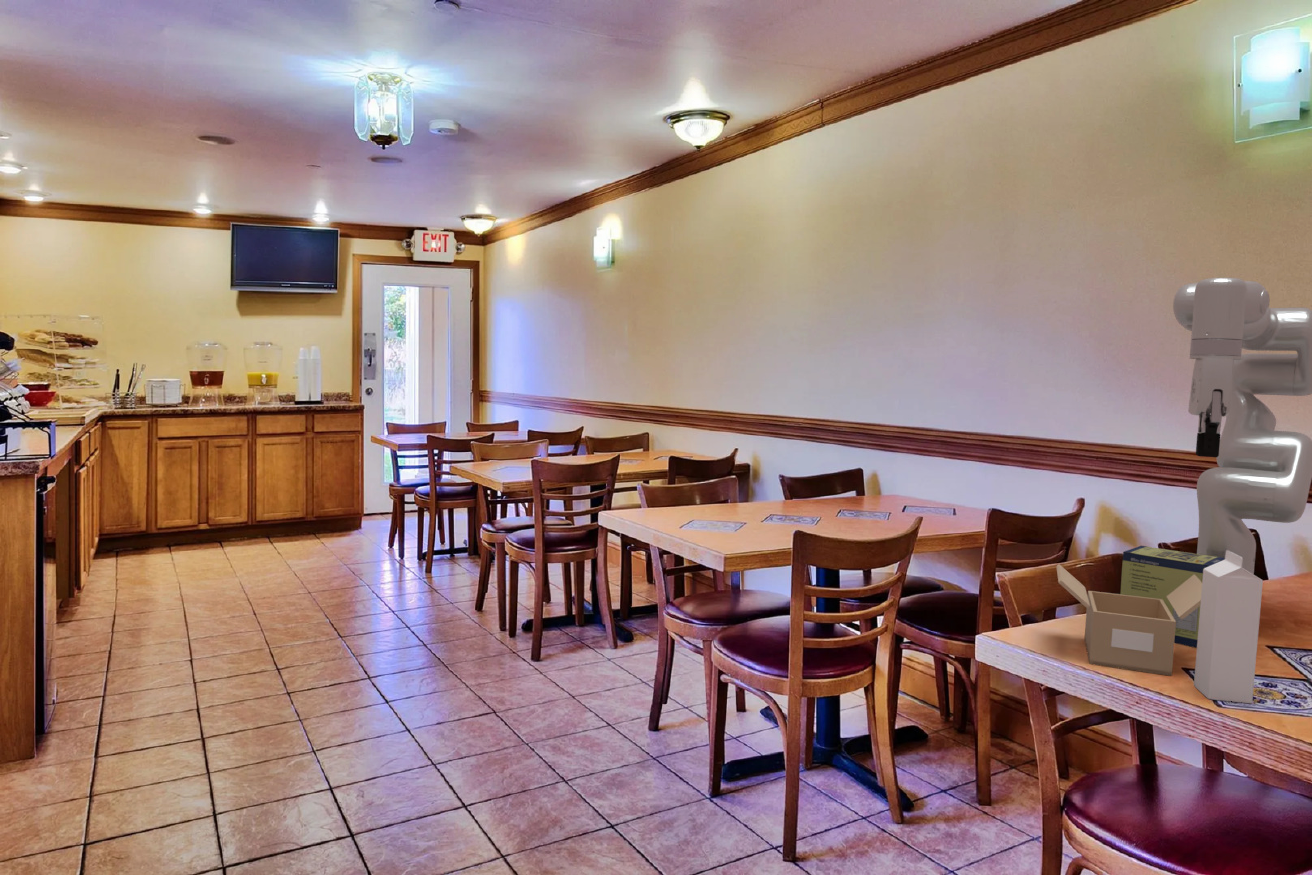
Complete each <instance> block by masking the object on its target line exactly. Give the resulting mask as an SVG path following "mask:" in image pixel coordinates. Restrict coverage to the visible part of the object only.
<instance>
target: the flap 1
mask: <svg viewBox="0 0 1312 875" xmlns="http://www.w3.org/2000/svg"><path fill="white" fill-rule="evenodd" d="M1055 566H1056V572H1057V573H1056V574H1057V579H1058V580H1057V582H1058V584H1059V585H1060V586H1061V587H1062V588H1064V589H1065V590H1066V591H1067V592H1068V593H1069V594H1071V596H1073V597H1074V598H1075V599H1076V600H1077V601H1078V602H1079V603H1080V604H1082V606H1084V607H1085V608H1086V609H1087V608H1088V607H1089V606H1090V604H1089V600H1088V592H1087V589H1086V586H1084V585H1083V584H1082V583H1081V582H1080V581H1079V580H1078V579H1076V578H1075V577H1074V576H1073V575H1072V574H1071V573H1070V572H1068V571H1067V569H1065V567H1063V566H1062V565H1061V564H1060V563H1058V564H1057V565H1055Z"/></svg>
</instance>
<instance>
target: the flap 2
mask: <svg viewBox="0 0 1312 875" xmlns="http://www.w3.org/2000/svg"><path fill="white" fill-rule="evenodd" d="M1201 592H1202V582H1201V581H1200V580H1199V579H1198V577H1197V576H1196V575H1193V576H1191V577H1190V578H1189V579H1188V580H1186V581H1185V582H1184V583H1183V584H1181V585H1180V586H1179V587H1178V588H1176V589H1175V590H1174V591H1173V592H1171V593H1170V594H1169V595H1168V596H1166V597H1167V598H1168V600H1169V601H1170V603H1171V605H1172V606H1173V608H1174V610H1175V611H1176V613H1177V614H1178V616H1179V617H1180V618H1181V619H1184V618H1185V617H1186V616H1188V615H1189V614H1190V613H1191V612H1193V611H1194V610H1195V609H1197V608H1198V607H1199V606H1200V605H1201Z"/></svg>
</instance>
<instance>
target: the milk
mask: <svg viewBox="0 0 1312 875" xmlns="http://www.w3.org/2000/svg"><path fill="white" fill-rule="evenodd" d="M1242 561H1243V559H1242V557H1240V556H1238V555H1236V554H1234V553H1232V552H1230V551H1228V550H1226V555H1225V560H1223V561H1220V562H1218V563H1216V564H1213V565H1211V566H1209V567H1206V568H1204V569H1203V580H1202V592H1201V605H1200V617H1199V629H1198V641H1197V648H1196V654H1195V655H1196V657H1195V668H1194V678H1193V679H1194V680H1193V686H1194V688H1196V689H1197V690H1198V691H1199V692H1200V693H1201V694H1202V695H1203V696H1204V697H1205V698H1207V699H1208V700H1213V701H1214V700H1215V701H1222V702H1225V701H1226V702H1231V701H1232V703H1241V702H1242V703H1243V704H1253V697H1254V685H1255V676H1256V666H1257V665H1256V664H1257V663H1256V662H1257V661H1256V660H1257V652H1258V641H1259V640H1258V639H1259V631H1260V630H1259V629H1260V628H1259V627H1260V618H1261V604H1262V597H1263V596H1262V594H1263V583H1264V580H1263V579H1261V578H1260V577H1258V576H1257V575H1255V574H1254V575H1253V574H1252V573H1250V572H1248V571H1247V570H1245V569H1244V568H1242ZM1242 703H1241V704H1242Z"/></svg>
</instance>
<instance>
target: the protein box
mask: <svg viewBox="0 0 1312 875" xmlns="http://www.w3.org/2000/svg"><path fill="white" fill-rule="evenodd" d="M1223 560H1225V558H1221V557H1214V556H1207V555H1200V554H1197V553H1193V552H1186V551H1185V552H1184V551H1180V550H1179V551H1178V550H1171V549H1165V548H1158V547H1152V546H1146V545H1139V546H1136V547H1133V548H1131V549H1127V550H1125V551H1123V552H1122V566H1121V579H1120V580H1121V581H1120V593H1119V594H1121V595H1130V596H1138V597H1147V598H1155V599H1163V601H1164V603H1165V604H1166V606H1167V608H1168V609H1169V611H1170V613H1171V614H1172V616H1173V618H1174V619H1175V621H1176V628H1175V640H1174V644H1178V645H1181V646H1186V647H1191V648H1196V649H1197V641H1198V629H1199V617H1200V606H1199V607H1198V608H1197V609H1195V610H1194V611H1193V612H1191V613H1190V614H1189V615H1188V616H1186V617H1185V618H1184V619H1181V618H1180V617H1179V616H1178V614H1177V613H1176V611H1175V610H1174V608H1173V606H1172V605H1171V603H1170V601H1169V600H1168V598H1167V597H1166V596H1168V595H1169V594H1170V593H1171V592H1173V591H1174V590H1175V589H1176V588H1178V587H1179V586H1180V585H1181V584H1183V583H1184V582H1185V581H1186V580H1188V579H1189V578H1190V577H1191V576H1193V575H1196V576H1197V577H1198V579H1199V580H1200V581H1201V582H1202V580H1203V569H1204V568H1206V567H1209V566H1211V565H1213V564H1216V563H1218V562H1220V561H1223Z"/></svg>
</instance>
